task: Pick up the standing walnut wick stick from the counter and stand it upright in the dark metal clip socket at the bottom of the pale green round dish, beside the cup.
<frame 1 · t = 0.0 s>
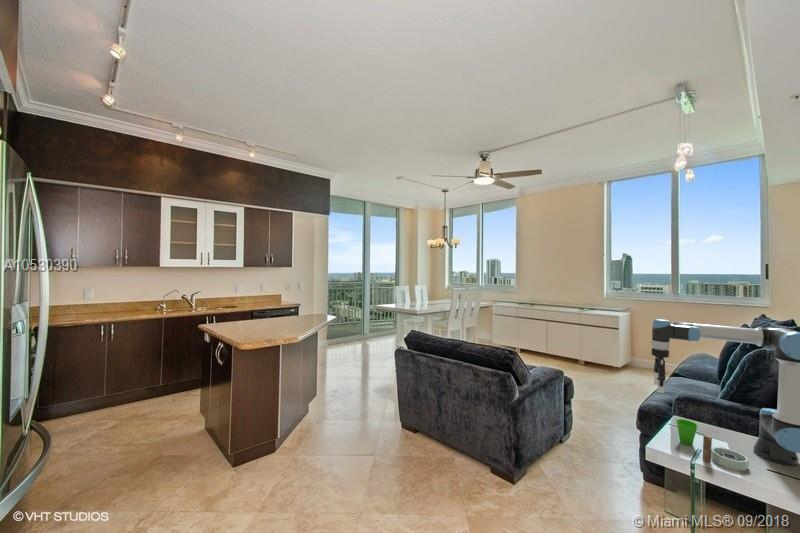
hand: (658, 388, 185), 28 cm above the table, fingers open, 13 cm apart
cup: (686, 443, 183), on the table
wick: (706, 460, 167), on the table
pale green round dish: (729, 462, 166), on the table
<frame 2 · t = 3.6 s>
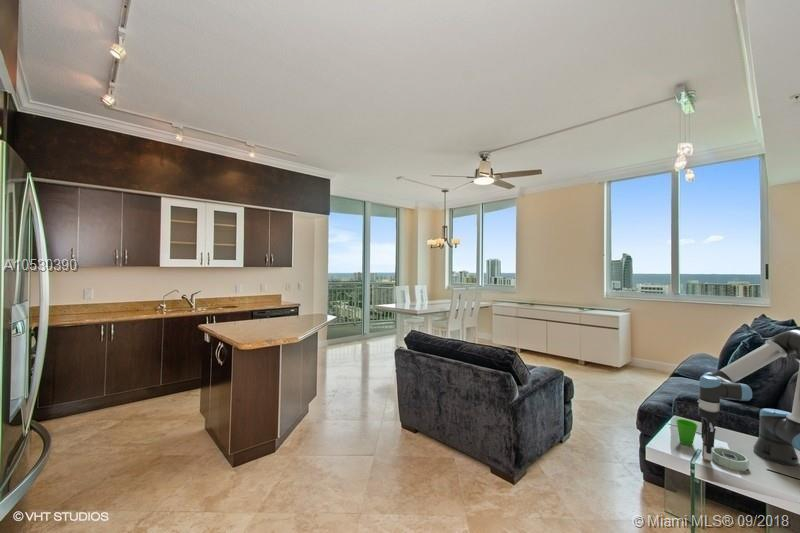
hand: (706, 457, 167), 2 cm above the table, fingers closed on wick, 2 cm apart
wick: (706, 460, 167), on the table, touching gripper
everything else where it was.
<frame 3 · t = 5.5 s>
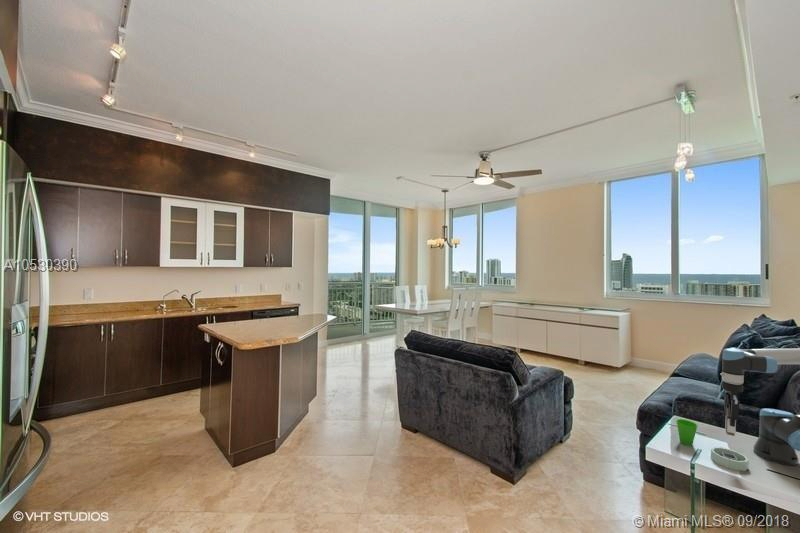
hand: (730, 430, 166), 15 cm above the table, fingers closed on wick, 2 cm apart
wick: (730, 434, 166), point 14 cm above the table, touching gripper
everything else where it was.
when the fingers open (5 cm above the table, at t = 7.5 s): wick drops 2 cm, resting on pale green round dish.
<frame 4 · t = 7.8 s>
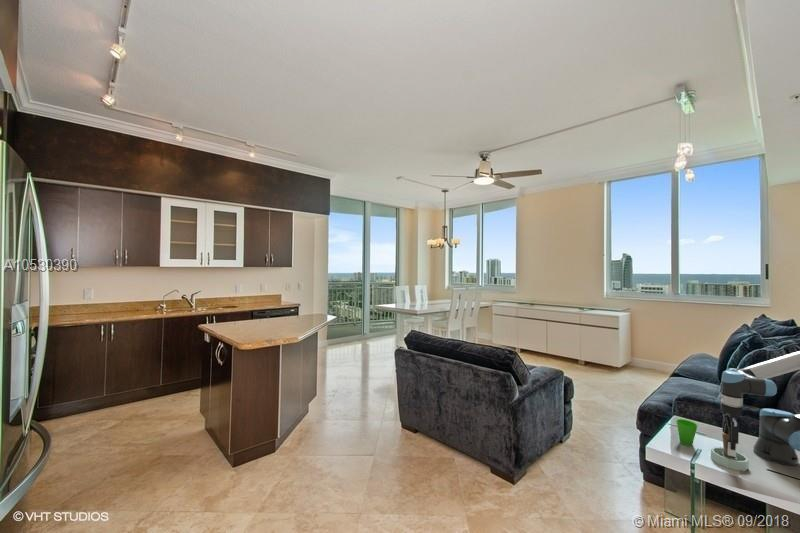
hand: (729, 452, 166), 5 cm above the table, fingers open, 6 cm apart
wick: (728, 460, 166), point 1 cm above the table, tilted 6°, touching pale green round dish
everything else where it was.
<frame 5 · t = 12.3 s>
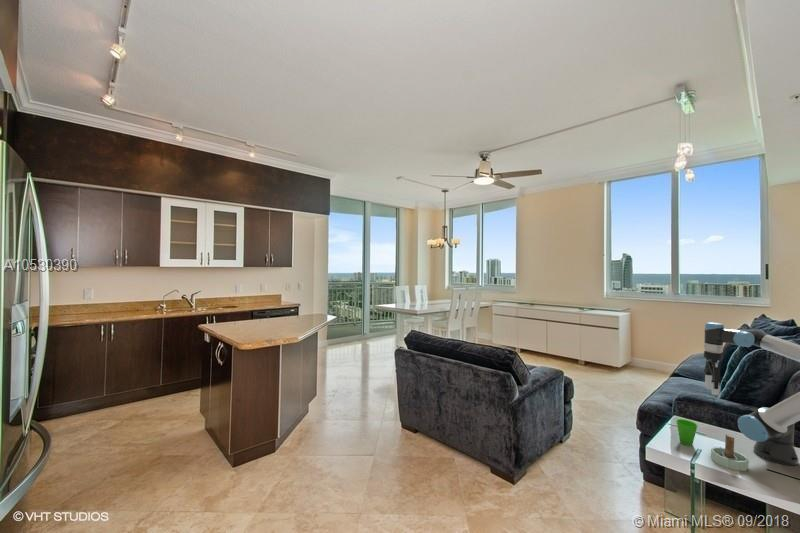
hand: (711, 390, 187), 27 cm above the table, fingers open, 13 cm apart
wick: (728, 460, 166), point 1 cm above the table, touching pale green round dish
everything else where it was.
at the end: wick 0.1 cm off-centre on the pale green round dish, point 0.8 cm above the pale green round dish's base; wick tilted 0°; the gripper is holding nothing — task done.
